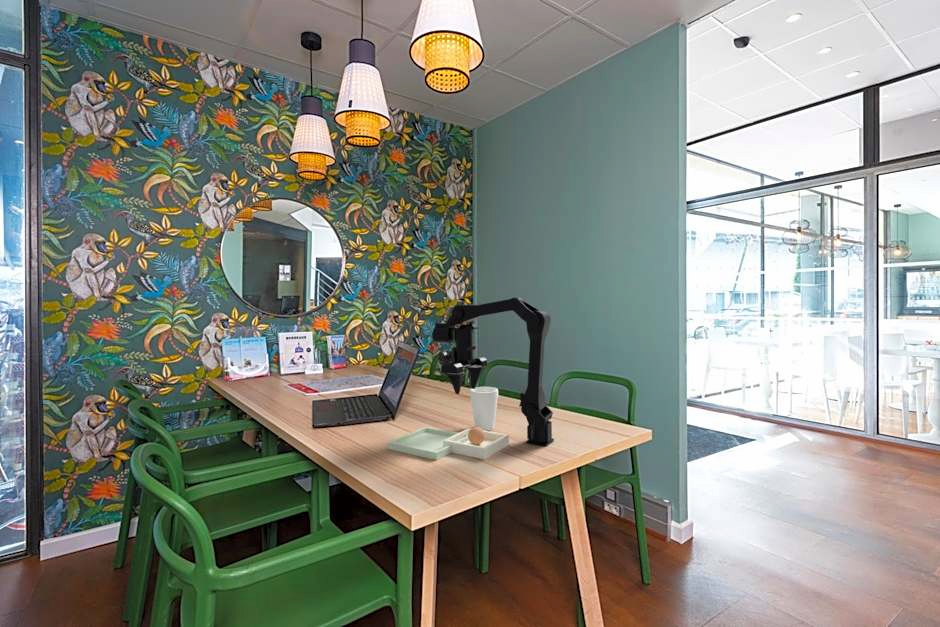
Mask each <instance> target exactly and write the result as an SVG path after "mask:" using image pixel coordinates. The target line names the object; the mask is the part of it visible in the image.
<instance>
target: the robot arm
mask: <svg viewBox="0 0 940 627" xmlns="http://www.w3.org/2000/svg"><path fill="white" fill-rule="evenodd" d="M451 310H452V311H451V314H450V316H449V317H448V320H447V321H446V322H435V323H434V324H435V325H434V327H433V330H432V332H431V338H432V341H433V342H434V343H435V344H452V343H453V342H455V343H454V345H455V346H452V348H451V351H450V352H446V351H441V352H438V361H439V363H441V365H440V373H441V374H443V375H444V376H446V377H448V378H449V380H450V382H451V385H452V388H453V391H454V392H455V394H456V395H459V394H460V392H461V387H462V382H463V378H464V372H463V371H464V369H467V370H468V372H469V377H470V385H471V389H475V388H476V387H477V385H478V384H479V380H480V378H481V375H482V373H483V372H484V370H485V369H486V367H487V366H488V359H487V358H486V357H484V356H474V350H476V346H477V345H474V340H473V338H474V337H473V336H474V335H473V334H474V333H473V331H474V330H479V329H480V328H479V326H478V325H477V324H476V323H475V322H474V321H475V320H478V319H479V318H481V317H485V316H489V315H495V314H502V313H506V312H512V311H513V312H514V313H515V314H516V315H517V316H518V317H519V318H520V319H521V320H523V322H525V323H526V332H527V334H528V338H529V353H528V354H529V355H528V370H527V371H528V372H527V385H526V386H527V387H526V389H524V391H521V392H520V393H519V397H520V402H519V408H520V409H521V413H522V414H523V416H525V418H526V421H527V424H528V425H527V427H526V428H527V429H526V430H527V432H526V433H527V434H526V438H527V440H526V444H532V445H538V446H542V447H547V446H549V445H550V444H552V442H554V441H555V438H553V437H552V436H553V433H552V432H553V431H552V426H553V424H552V421H550V420H551V419H552V417H553V414H554V412H553V411H552V410H551V409H550V408H549V406H547V405H546V398H545V396H546V395H545V392H544V389H543V374H544V372H543V371H544V360H545V359H544V357H545V341H546V338H547V336H548V333H549V330H550V326H551V323H552V322H551V321H552V320H551V319H552V318H551V316H550V314H549V313H548V312H546V311H545V310H539V308H537V307H535V306H534V305H532V304H530V303H528V302H526V301H525V300H524V299H523V297H518V296H517V297H512V298H508V299H503V300H498V301H492V302H487V303H483V304H457V305H455V306H453V308H452V309H451ZM465 323H466V324H465ZM456 326H457V327H456Z"/></svg>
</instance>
